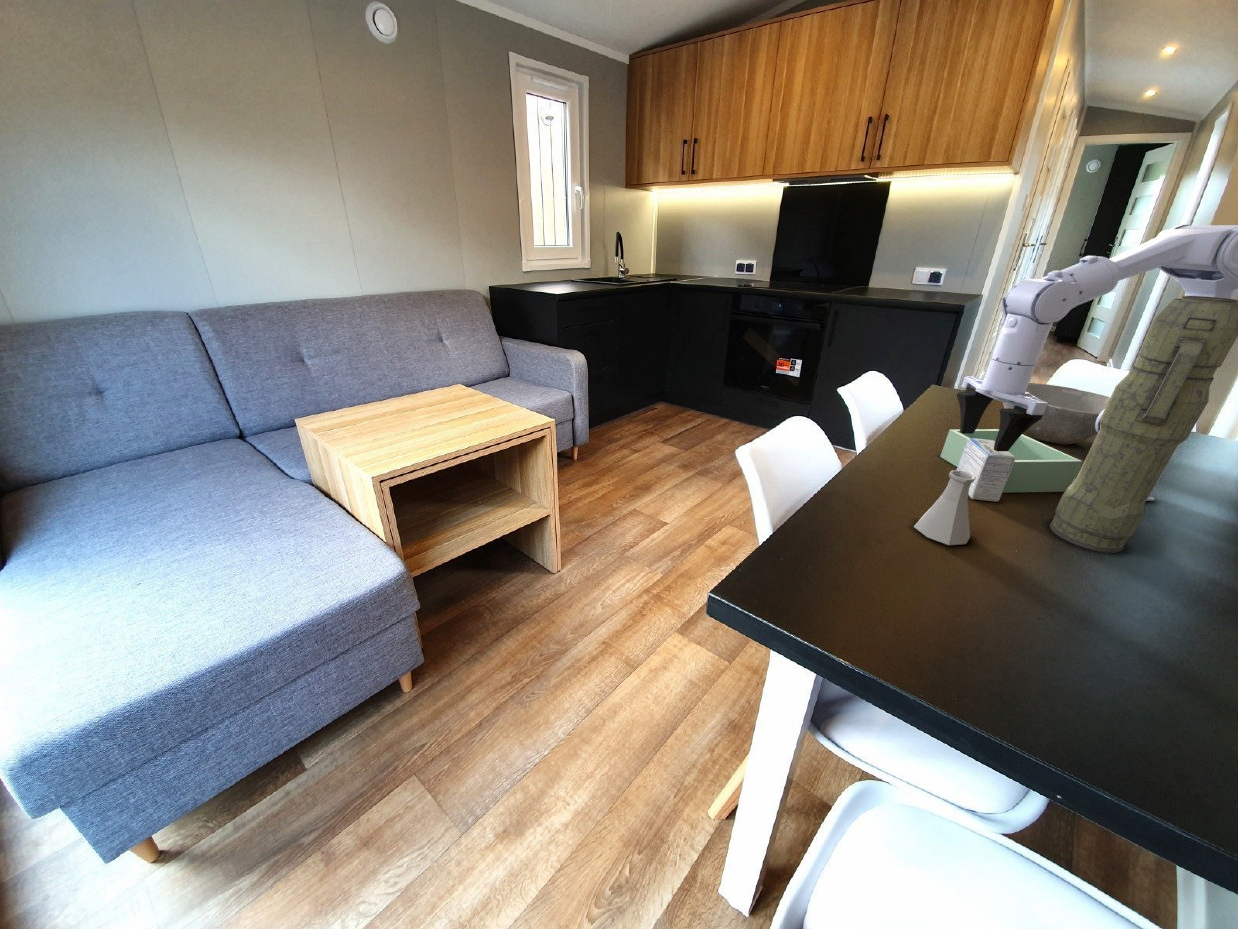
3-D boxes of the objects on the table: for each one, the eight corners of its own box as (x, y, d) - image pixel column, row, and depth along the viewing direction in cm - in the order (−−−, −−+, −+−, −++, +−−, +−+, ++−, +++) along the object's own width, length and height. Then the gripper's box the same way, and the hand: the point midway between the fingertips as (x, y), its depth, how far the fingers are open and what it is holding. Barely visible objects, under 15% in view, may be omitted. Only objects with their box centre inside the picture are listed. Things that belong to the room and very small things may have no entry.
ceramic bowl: (987, 414, 128) (1001, 377, 124) (1103, 435, 116) (1123, 395, 112) (984, 439, 112) (1000, 397, 107) (1119, 466, 100) (1143, 420, 96)
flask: (950, 551, 70) (974, 490, 66) (904, 526, 76) (923, 469, 72) (979, 539, 73) (1004, 480, 69) (932, 516, 79) (952, 460, 75)
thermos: (1051, 543, 73) (1172, 298, 58) (1046, 511, 82) (1150, 291, 67) (1131, 566, 68) (1285, 306, 53) (1117, 529, 77) (1246, 297, 62)
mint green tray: (1000, 456, 103) (1010, 429, 100) (1068, 491, 89) (1082, 461, 86) (940, 456, 102) (949, 429, 99) (999, 492, 88) (1012, 462, 85)
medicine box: (998, 503, 84) (1018, 457, 80) (970, 499, 85) (988, 454, 81) (978, 482, 91) (994, 439, 87) (952, 479, 92) (967, 437, 88)
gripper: (956, 350, 83) (932, 426, 88) (1029, 373, 70) (994, 459, 75) (995, 351, 83) (968, 425, 89) (1074, 373, 70) (1036, 459, 76)
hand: (982, 441), depth 82 cm, fingers open, 7 cm apart
